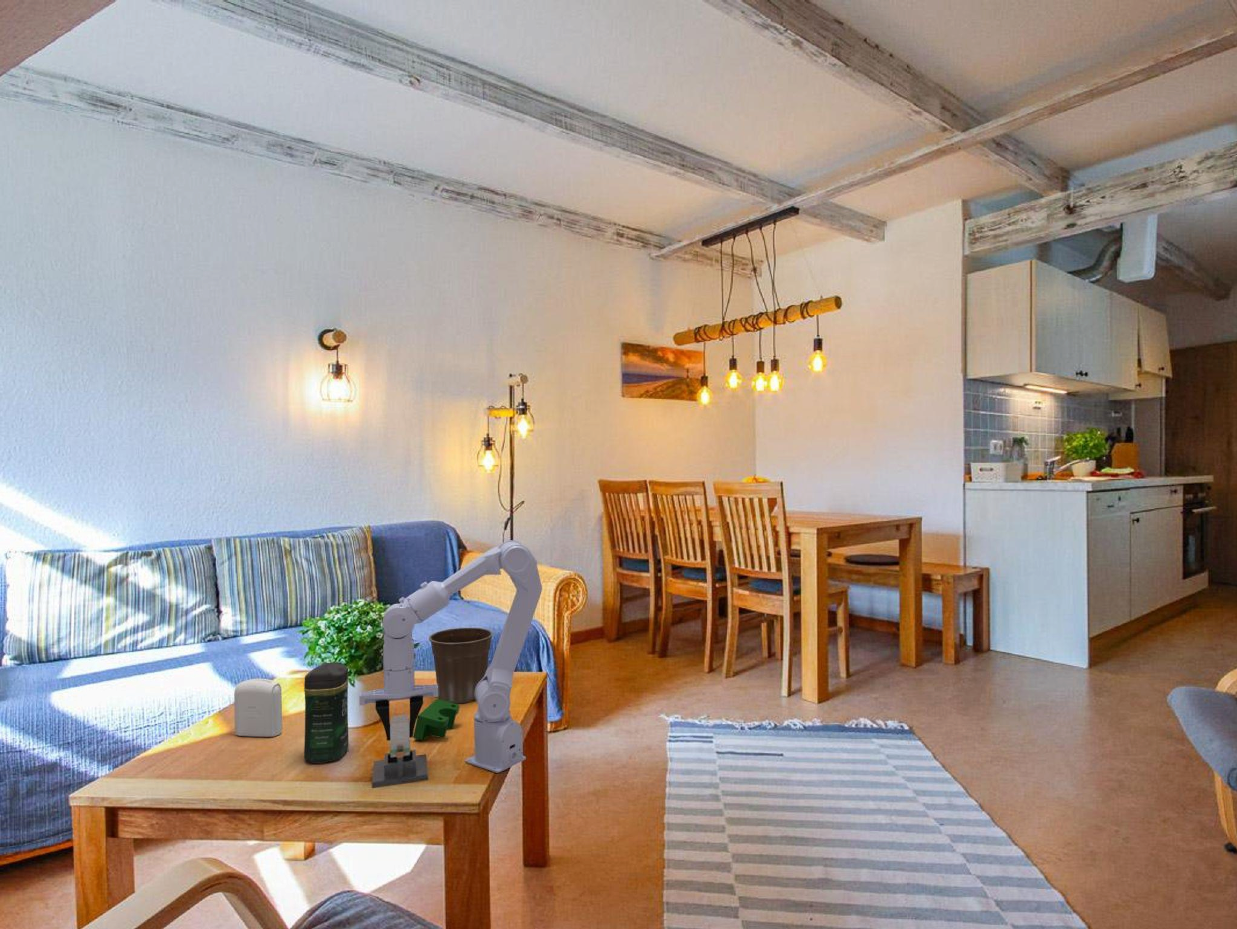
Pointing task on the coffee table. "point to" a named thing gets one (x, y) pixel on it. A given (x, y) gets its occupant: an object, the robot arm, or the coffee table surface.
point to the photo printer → (258, 708)
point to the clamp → (436, 719)
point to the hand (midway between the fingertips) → (400, 737)
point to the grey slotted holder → (400, 769)
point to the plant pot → (460, 661)
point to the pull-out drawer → (399, 735)
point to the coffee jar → (326, 713)
